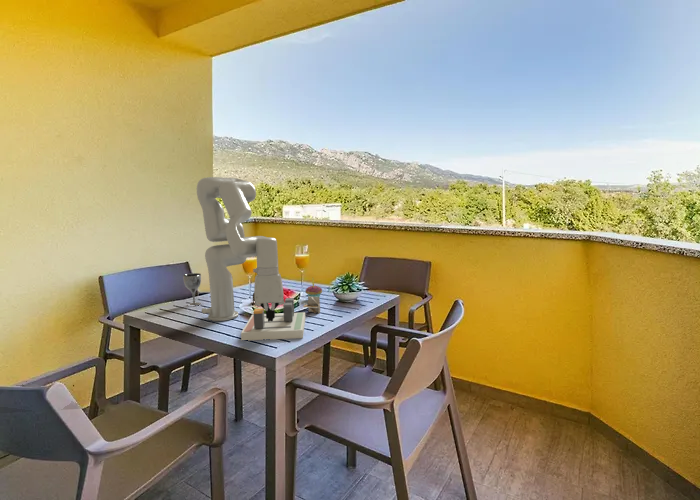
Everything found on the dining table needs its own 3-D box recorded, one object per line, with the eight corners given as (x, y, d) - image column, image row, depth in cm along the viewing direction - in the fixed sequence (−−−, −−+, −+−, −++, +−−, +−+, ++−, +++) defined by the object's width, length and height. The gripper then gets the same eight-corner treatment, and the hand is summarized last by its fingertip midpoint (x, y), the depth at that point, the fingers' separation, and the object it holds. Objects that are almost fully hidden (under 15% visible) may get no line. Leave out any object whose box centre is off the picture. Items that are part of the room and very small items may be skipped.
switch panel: (241, 340, 134) (239, 313, 133) (252, 321, 156) (251, 298, 154) (302, 338, 135) (301, 311, 134) (305, 319, 157) (304, 296, 156)
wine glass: (206, 303, 185) (204, 274, 183) (192, 307, 178) (189, 276, 176) (196, 301, 189) (194, 272, 187) (182, 305, 183) (179, 275, 181)
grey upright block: (254, 329, 136) (253, 311, 135) (256, 325, 139) (255, 308, 139) (263, 328, 136) (262, 311, 135) (264, 325, 140) (263, 308, 139)
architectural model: (317, 315, 164) (317, 299, 163) (303, 314, 166) (302, 298, 165) (320, 313, 167) (320, 297, 166) (306, 312, 169) (305, 296, 168)
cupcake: (321, 301, 185) (320, 278, 183) (304, 301, 185) (303, 278, 183) (323, 297, 193) (322, 274, 192) (306, 297, 193) (306, 274, 192)
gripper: (245, 274, 131) (248, 324, 133) (287, 272, 132) (290, 322, 134) (249, 270, 139) (252, 318, 141) (289, 268, 140) (291, 316, 142)
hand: (270, 320), depth 138 cm, fingers closed
